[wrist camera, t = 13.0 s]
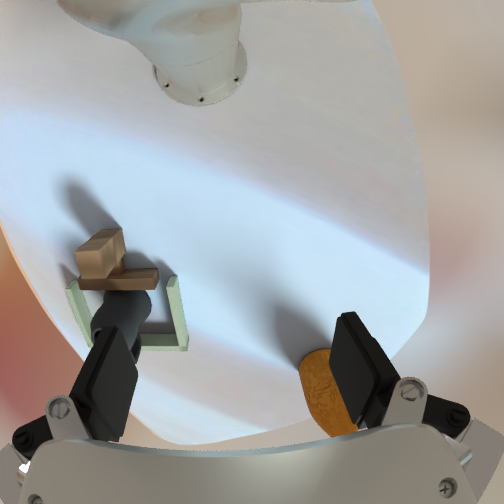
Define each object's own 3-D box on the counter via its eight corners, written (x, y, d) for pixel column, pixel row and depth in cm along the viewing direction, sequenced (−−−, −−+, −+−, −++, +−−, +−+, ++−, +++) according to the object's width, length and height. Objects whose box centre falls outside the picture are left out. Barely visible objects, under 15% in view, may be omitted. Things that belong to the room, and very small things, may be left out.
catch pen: (73, 279, 41) (65, 289, 38) (177, 276, 43) (173, 286, 40) (94, 336, 46) (88, 347, 43) (189, 338, 48) (187, 351, 45)
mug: (97, 283, 42) (70, 320, 32) (141, 275, 42) (119, 314, 32) (122, 336, 47) (106, 377, 37) (164, 331, 47) (152, 375, 37)
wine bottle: (287, 370, 54) (319, 499, 26) (316, 340, 51) (369, 474, 23) (320, 381, 56) (359, 493, 29) (348, 353, 53) (404, 468, 26)
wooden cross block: (76, 232, 38) (48, 253, 30) (151, 226, 39) (133, 248, 31) (88, 280, 42) (65, 308, 33) (159, 278, 43) (146, 310, 34)
